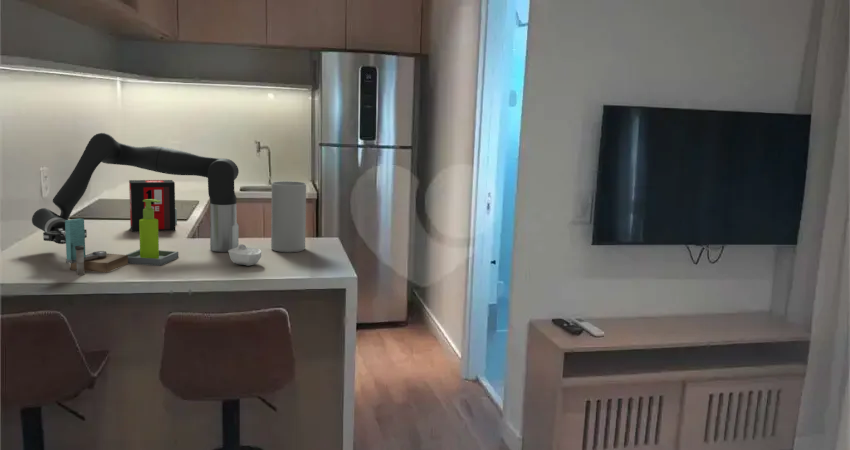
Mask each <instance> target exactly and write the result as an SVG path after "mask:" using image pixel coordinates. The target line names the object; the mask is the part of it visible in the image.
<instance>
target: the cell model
mask: <svg viewBox="0 0 850 450" xmlns="http://www.w3.org/2000/svg"><path fill="white" fill-rule="evenodd" d="M228 254H229V258H230V260H231V261H232V262H233V264H235V265H238V266H239V265H241V266H247V267H250V266H253V265H256V264H257V263H259V261H260V259H261V258H262V250H261V249H260V248H254V247H247V246H246V245H245V244H241V243H240V244H238V246H237V248H233V249H230V250H228Z"/></svg>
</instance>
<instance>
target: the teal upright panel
mask: <svg viewBox="0 0 850 450" xmlns="http://www.w3.org/2000/svg"><path fill="white" fill-rule="evenodd" d="M84 229H85V219H84V218H81V217H80V218H72V219H68V220H65V233H66V244H65V251H66V252H65V255H66V259H65V260H66V263H68V264H70V263H76V249H75V246H84V249H83V252H84V261H85V260H90V259H95V258H104V257H107V254H108V253H107V251H104V250H96V251H93V252H92V253H93V254H90V253H88V254H89V255H87V254H86V238H85V231H84Z"/></svg>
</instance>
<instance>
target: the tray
mask: <svg viewBox="0 0 850 450" xmlns="http://www.w3.org/2000/svg"><path fill="white" fill-rule="evenodd" d="M125 255H128V264H129V265H130V264H131V265H132V264H133V265H143V266H144V265H146V266H159V267H160V266H163V265H165V264H168V263H169V262H172V261H174V260H176V259H178V258H179V251H178V250H177V251H176V250H175V251H173V250H162V249H161V250H160V249H159V258H158V259H155V258H142V257H140V248H139V249H137V250H135V251H132V252H129V253H126V254H125Z"/></svg>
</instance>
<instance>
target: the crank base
mask: <svg viewBox="0 0 850 450" xmlns="http://www.w3.org/2000/svg"><path fill="white" fill-rule="evenodd" d="M75 249H76V263H69V264H70V270H71V271H76V275H77V276H85V272H97V273H110V272H112V271H114V270H116V269H119V268H122V267H124V266H127V265H129V263H128V255H126V254H120V253H119V254H118V253H107V257H104V258H95V259H90V260H85V261H84V252H83V249H84V246H75ZM89 254H93V252H91V253H87V254H86V255H89Z"/></svg>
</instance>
